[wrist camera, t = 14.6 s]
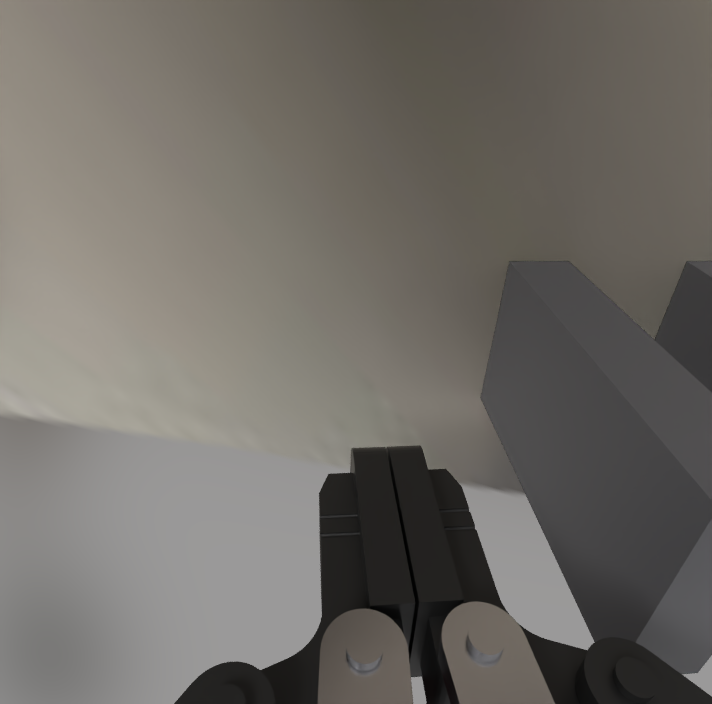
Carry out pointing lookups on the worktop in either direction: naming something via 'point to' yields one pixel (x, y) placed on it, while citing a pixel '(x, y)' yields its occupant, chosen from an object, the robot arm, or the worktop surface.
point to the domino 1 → (608, 458)
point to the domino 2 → (691, 322)
